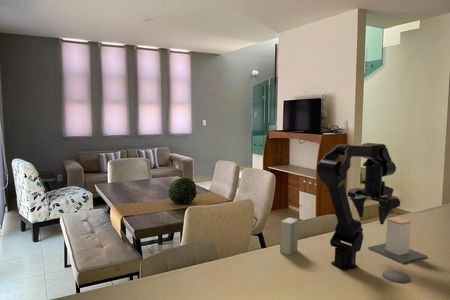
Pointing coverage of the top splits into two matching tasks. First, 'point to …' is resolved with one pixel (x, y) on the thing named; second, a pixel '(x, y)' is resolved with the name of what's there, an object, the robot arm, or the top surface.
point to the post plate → (399, 258)
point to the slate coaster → (396, 276)
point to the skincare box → (289, 236)
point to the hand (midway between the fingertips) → (371, 220)
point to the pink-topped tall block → (398, 235)
